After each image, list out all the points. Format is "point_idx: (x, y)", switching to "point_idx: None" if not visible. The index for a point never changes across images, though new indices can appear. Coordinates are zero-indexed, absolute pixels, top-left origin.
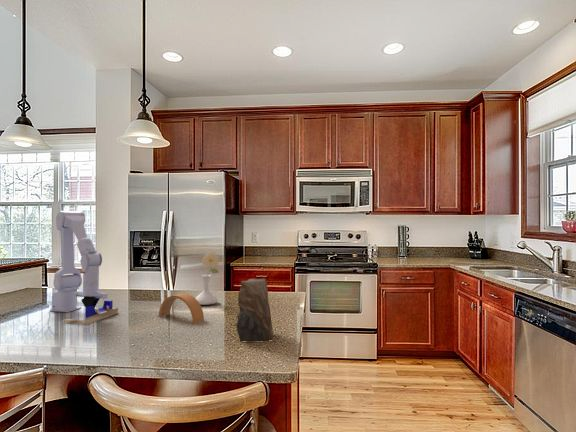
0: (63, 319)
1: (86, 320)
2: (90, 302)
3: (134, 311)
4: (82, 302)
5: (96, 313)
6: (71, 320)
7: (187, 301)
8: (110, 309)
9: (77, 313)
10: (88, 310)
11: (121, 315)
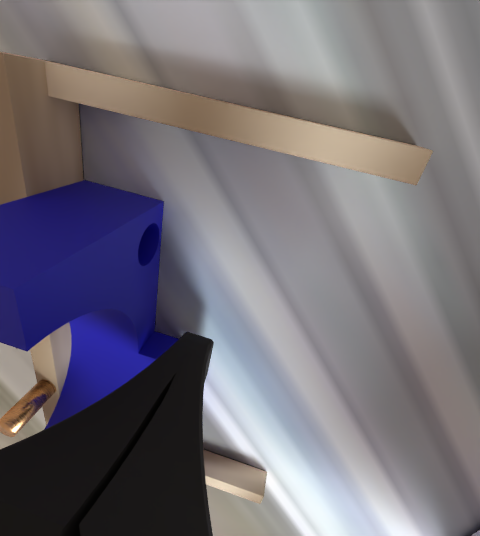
0: (429, 151)
1: (15, 56)
2: (11, 445)
3: (21, 429)
4: (205, 504)
5: None
6: (274, 114)
7: None
8: None
9: (396, 465)
10: (9, 235)
11: (17, 361)
